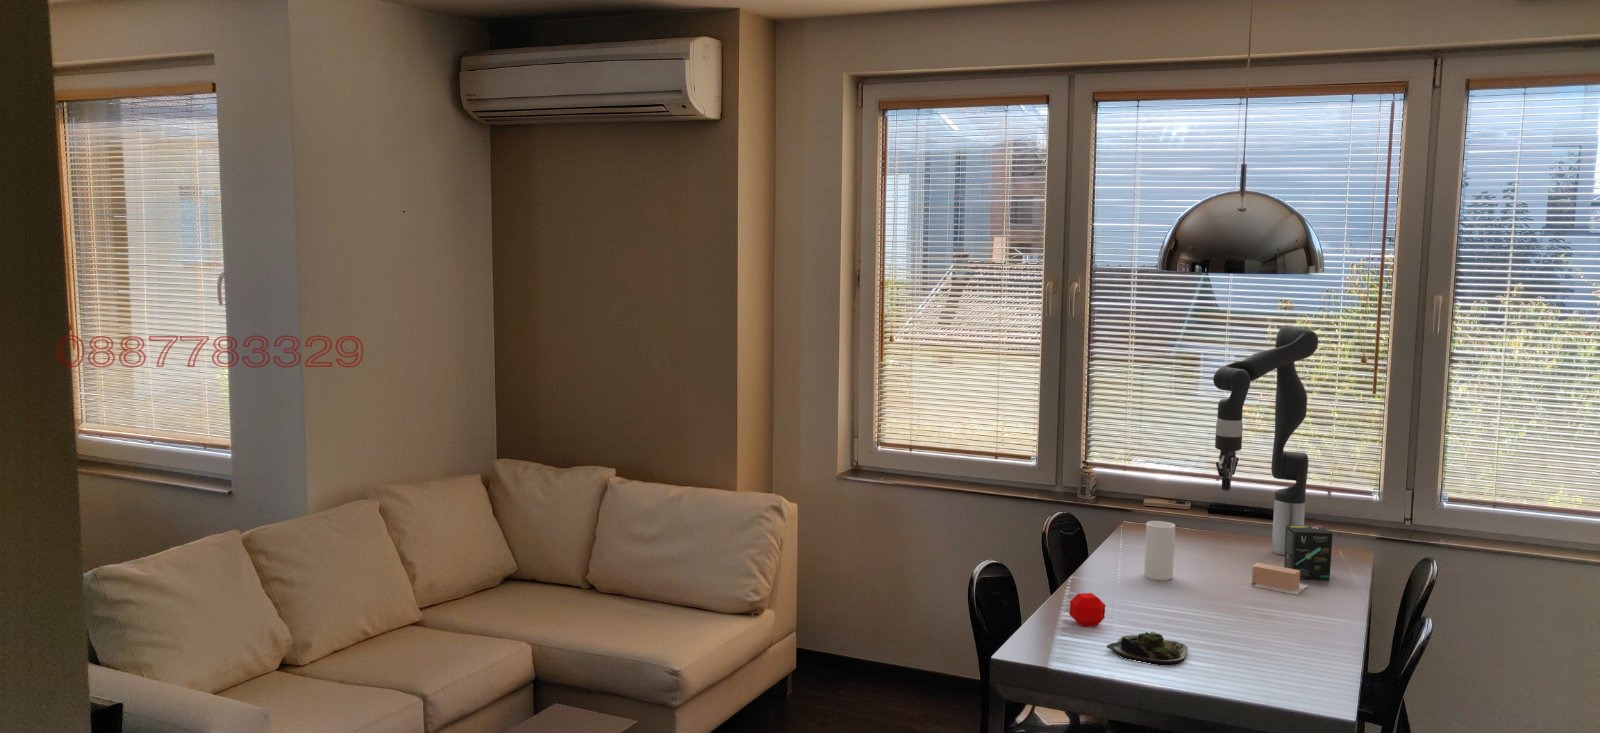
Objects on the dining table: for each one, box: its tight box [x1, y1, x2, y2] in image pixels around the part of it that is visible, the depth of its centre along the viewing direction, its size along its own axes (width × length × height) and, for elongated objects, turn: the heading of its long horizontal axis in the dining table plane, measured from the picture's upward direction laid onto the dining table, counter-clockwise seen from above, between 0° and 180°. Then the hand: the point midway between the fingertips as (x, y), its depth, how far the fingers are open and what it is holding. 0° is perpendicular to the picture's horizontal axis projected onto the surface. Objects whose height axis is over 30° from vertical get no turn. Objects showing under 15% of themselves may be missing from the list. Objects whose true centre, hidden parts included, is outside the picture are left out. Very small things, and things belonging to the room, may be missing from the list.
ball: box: [1069, 592, 1106, 628], centre depth 294 cm, size 8×8×8 cm
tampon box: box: [1283, 525, 1333, 581], centre depth 342 cm, size 11×9×15 cm
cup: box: [1143, 520, 1176, 581], centre depth 339 cm, size 8×8×16 cm
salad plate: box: [1106, 631, 1189, 666], centre depth 275 cm, size 19×18×5 cm
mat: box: [1253, 583, 1309, 596], centre depth 331 cm, size 11×12×1 cm
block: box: [1250, 562, 1301, 591], centre depth 331 cm, size 5×5×12 cm
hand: (1225, 489), depth 344 cm, fingers closed
